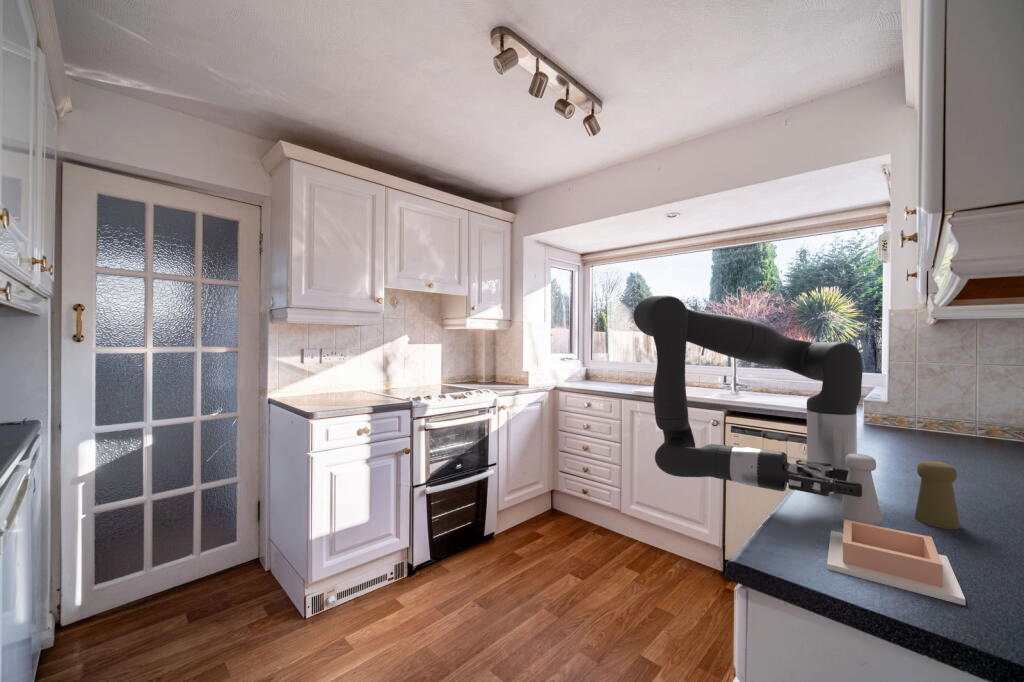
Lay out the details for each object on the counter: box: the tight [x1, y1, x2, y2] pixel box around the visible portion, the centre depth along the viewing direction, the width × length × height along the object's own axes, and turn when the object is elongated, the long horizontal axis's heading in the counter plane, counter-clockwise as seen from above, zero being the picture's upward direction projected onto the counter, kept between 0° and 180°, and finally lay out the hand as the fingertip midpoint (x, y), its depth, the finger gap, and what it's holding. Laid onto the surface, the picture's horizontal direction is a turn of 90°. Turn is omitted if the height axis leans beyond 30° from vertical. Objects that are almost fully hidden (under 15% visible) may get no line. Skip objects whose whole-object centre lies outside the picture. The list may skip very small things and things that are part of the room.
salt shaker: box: [839, 453, 883, 526], centre depth 76 cm, size 6×6×13 cm
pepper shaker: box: [914, 460, 961, 530], centre depth 79 cm, size 6×6×11 cm
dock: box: [826, 519, 966, 606], centre depth 64 cm, size 14×14×4 cm
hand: (861, 484), depth 76 cm, fingers open, 8 cm apart
